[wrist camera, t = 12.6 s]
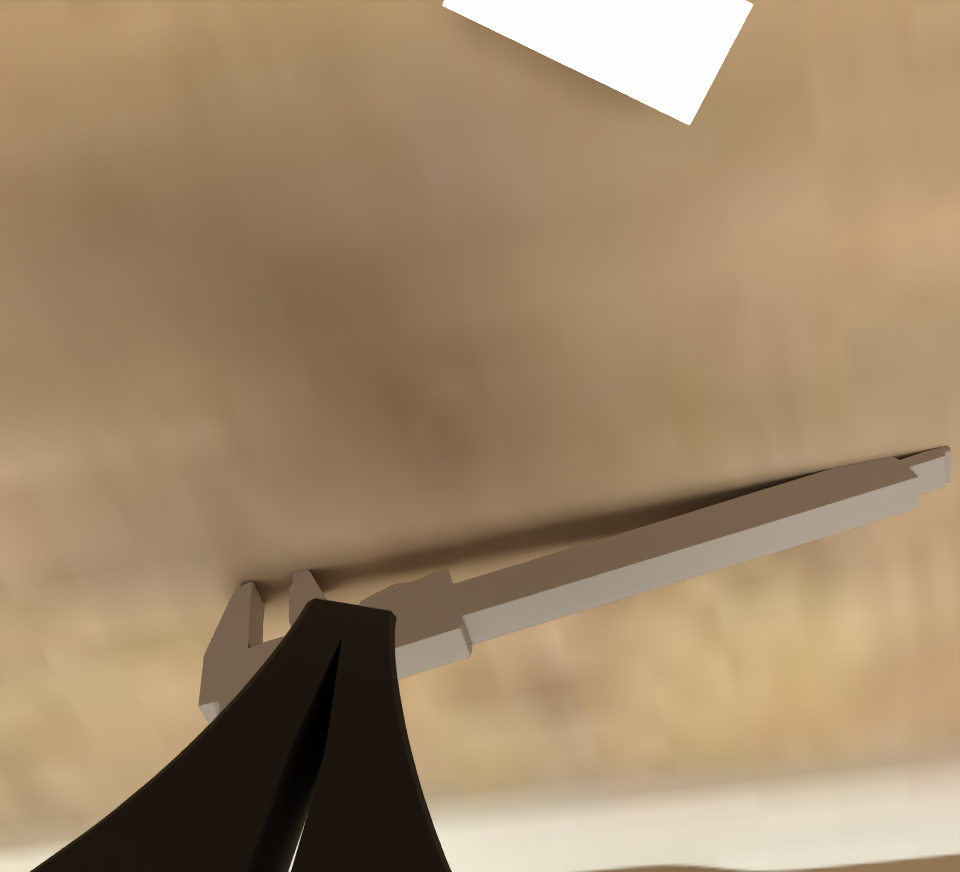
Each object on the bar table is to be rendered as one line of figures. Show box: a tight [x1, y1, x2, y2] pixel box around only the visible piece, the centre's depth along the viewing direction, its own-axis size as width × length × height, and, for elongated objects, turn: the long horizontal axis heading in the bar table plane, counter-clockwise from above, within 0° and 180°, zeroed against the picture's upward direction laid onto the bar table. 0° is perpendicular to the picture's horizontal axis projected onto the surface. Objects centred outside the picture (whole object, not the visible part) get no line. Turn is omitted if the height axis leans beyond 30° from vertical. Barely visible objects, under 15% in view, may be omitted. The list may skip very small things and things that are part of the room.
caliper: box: [199, 447, 951, 724], centre depth 21 cm, size 21×1×6 cm, turn 105°
